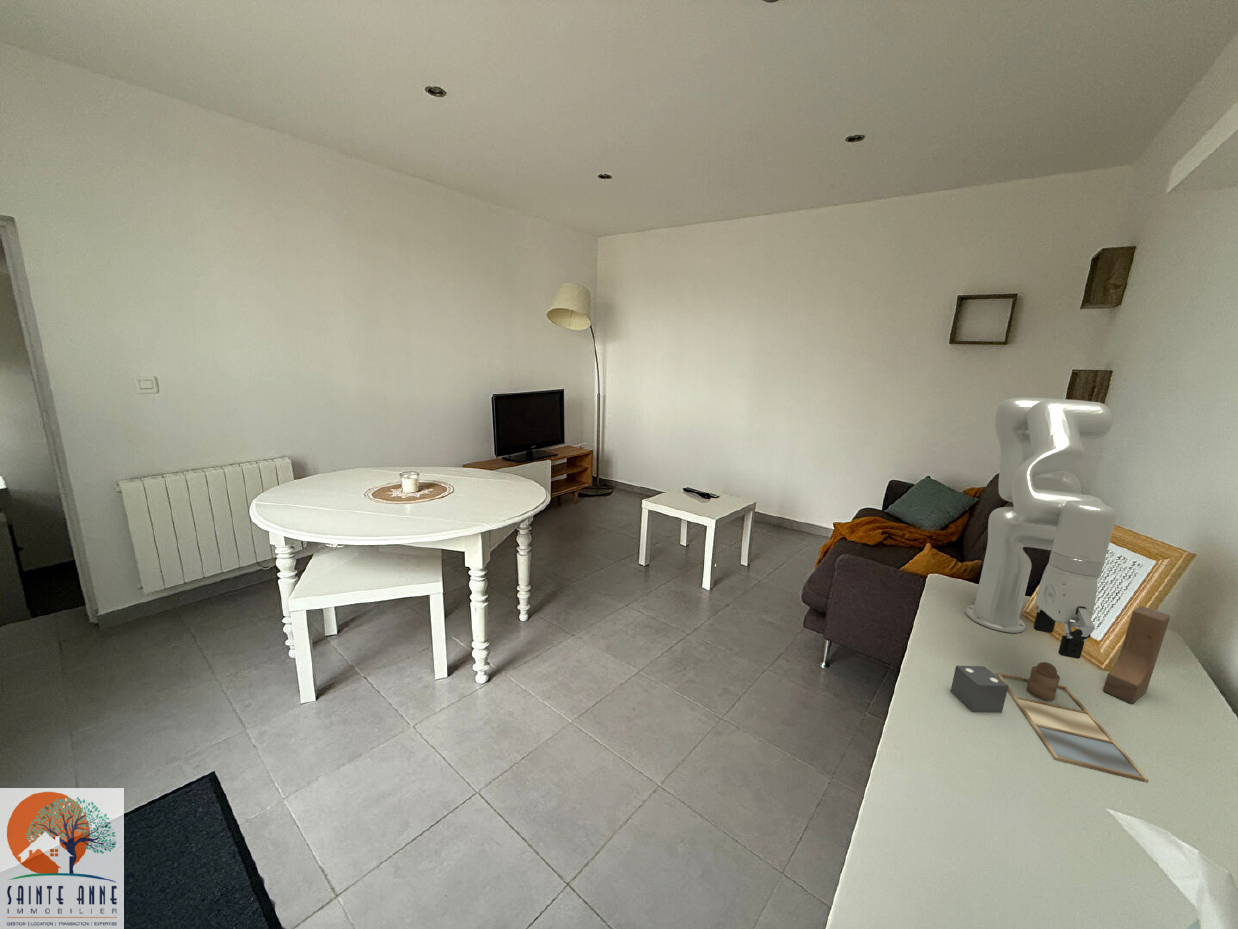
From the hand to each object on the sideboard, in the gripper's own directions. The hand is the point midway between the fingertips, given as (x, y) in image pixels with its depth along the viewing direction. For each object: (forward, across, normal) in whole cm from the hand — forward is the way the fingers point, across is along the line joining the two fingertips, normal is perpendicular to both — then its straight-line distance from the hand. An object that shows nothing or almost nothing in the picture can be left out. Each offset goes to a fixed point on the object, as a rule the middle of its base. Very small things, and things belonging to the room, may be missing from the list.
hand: (1055, 643), depth 95 cm
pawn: (+12, -1, 0) cm, 12 cm away
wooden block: (+12, -9, +18) cm, 23 cm away
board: (+12, +7, 0) cm, 14 cm away
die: (+12, +7, -14) cm, 20 cm away
